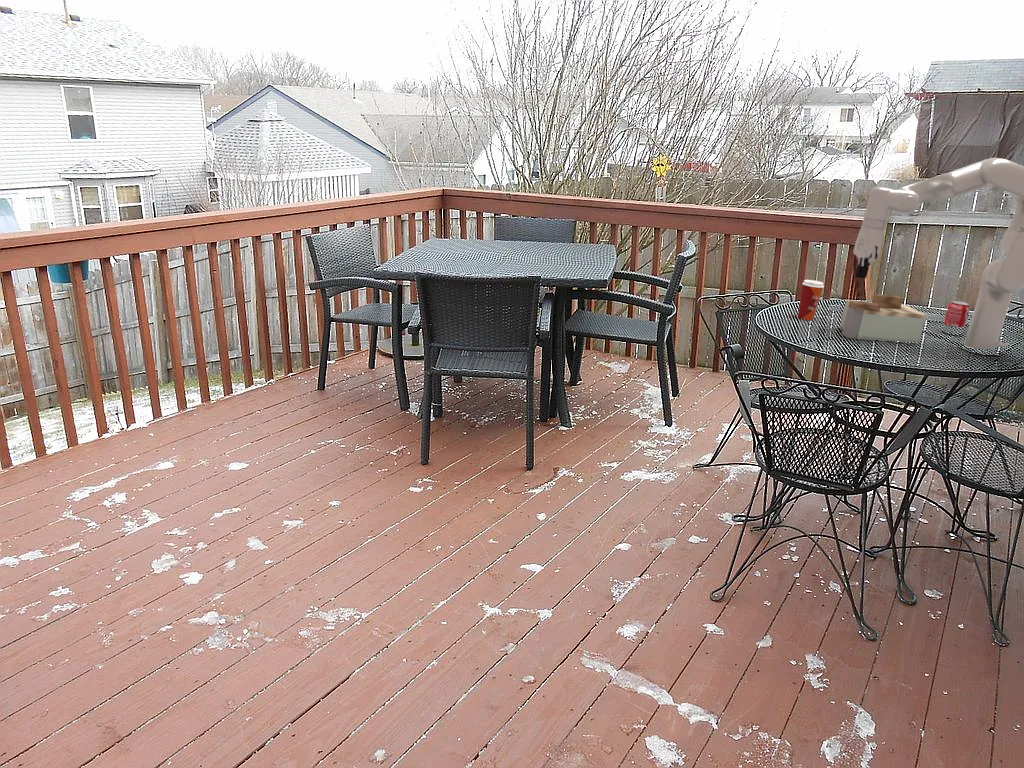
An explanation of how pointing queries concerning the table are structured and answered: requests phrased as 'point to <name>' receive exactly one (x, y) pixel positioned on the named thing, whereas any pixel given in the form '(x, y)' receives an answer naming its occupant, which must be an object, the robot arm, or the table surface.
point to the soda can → (957, 314)
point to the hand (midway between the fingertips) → (860, 277)
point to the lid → (892, 307)
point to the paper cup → (810, 299)
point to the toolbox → (880, 326)
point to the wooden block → (864, 306)
